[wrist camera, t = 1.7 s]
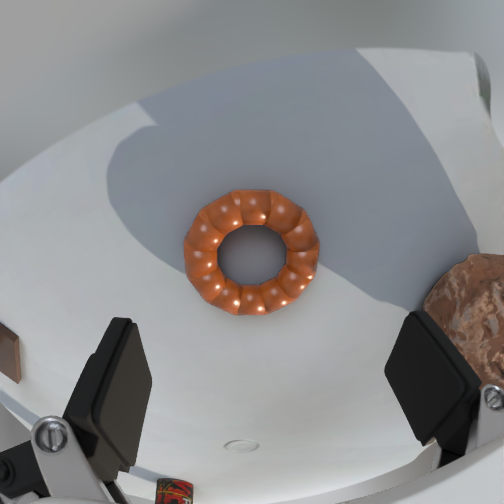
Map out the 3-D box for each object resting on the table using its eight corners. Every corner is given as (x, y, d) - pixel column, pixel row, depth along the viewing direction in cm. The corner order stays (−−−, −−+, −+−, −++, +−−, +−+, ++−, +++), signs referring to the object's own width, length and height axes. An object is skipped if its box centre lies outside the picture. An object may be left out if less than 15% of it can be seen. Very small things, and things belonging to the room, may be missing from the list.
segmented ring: (166, 271, 17) (160, 286, 15) (228, 161, 14) (227, 165, 13) (269, 320, 19) (272, 337, 17) (337, 229, 16) (348, 241, 15)
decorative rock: (487, 318, 22) (538, 375, 13) (407, 371, 23) (450, 448, 14) (495, 210, 17) (582, 262, 7) (397, 267, 18) (486, 364, 9)
